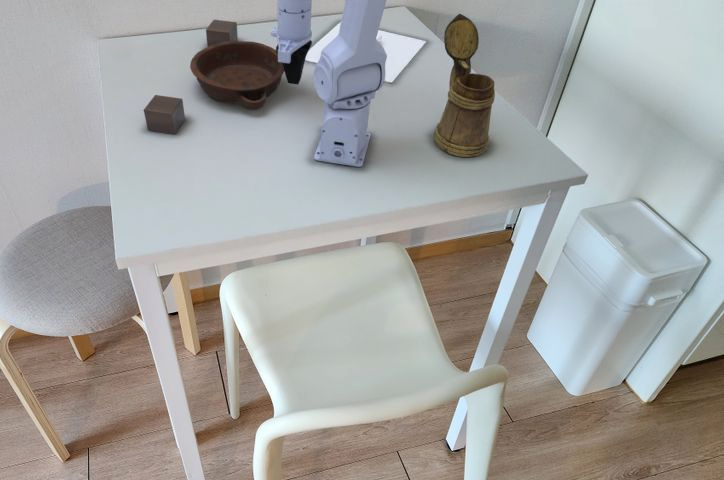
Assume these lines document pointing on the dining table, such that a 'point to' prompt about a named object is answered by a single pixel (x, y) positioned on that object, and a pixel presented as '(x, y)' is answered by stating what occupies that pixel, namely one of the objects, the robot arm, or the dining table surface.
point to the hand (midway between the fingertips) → (293, 82)
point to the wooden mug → (465, 95)
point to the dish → (238, 72)
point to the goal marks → (170, 110)
